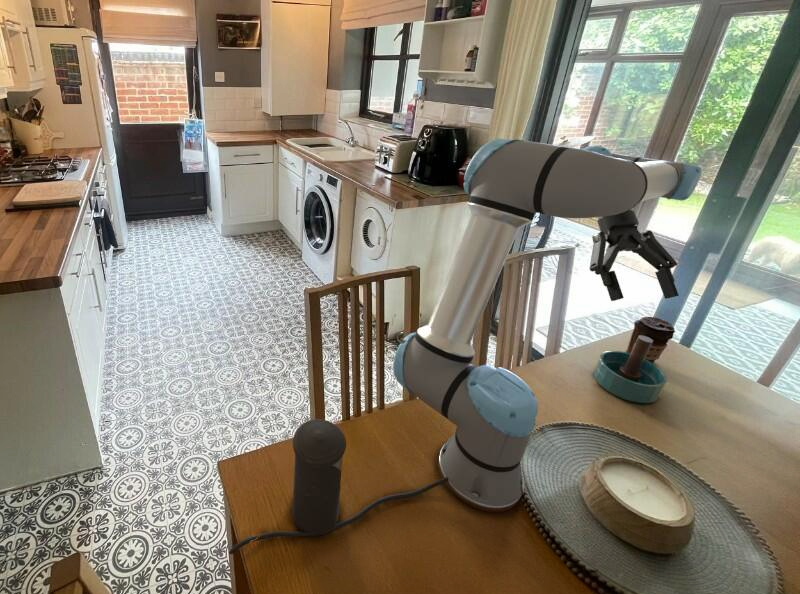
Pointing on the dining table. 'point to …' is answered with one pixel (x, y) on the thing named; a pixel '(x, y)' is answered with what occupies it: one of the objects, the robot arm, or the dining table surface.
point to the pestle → (636, 359)
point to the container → (317, 475)
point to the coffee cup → (652, 335)
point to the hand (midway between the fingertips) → (644, 298)
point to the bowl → (627, 389)
